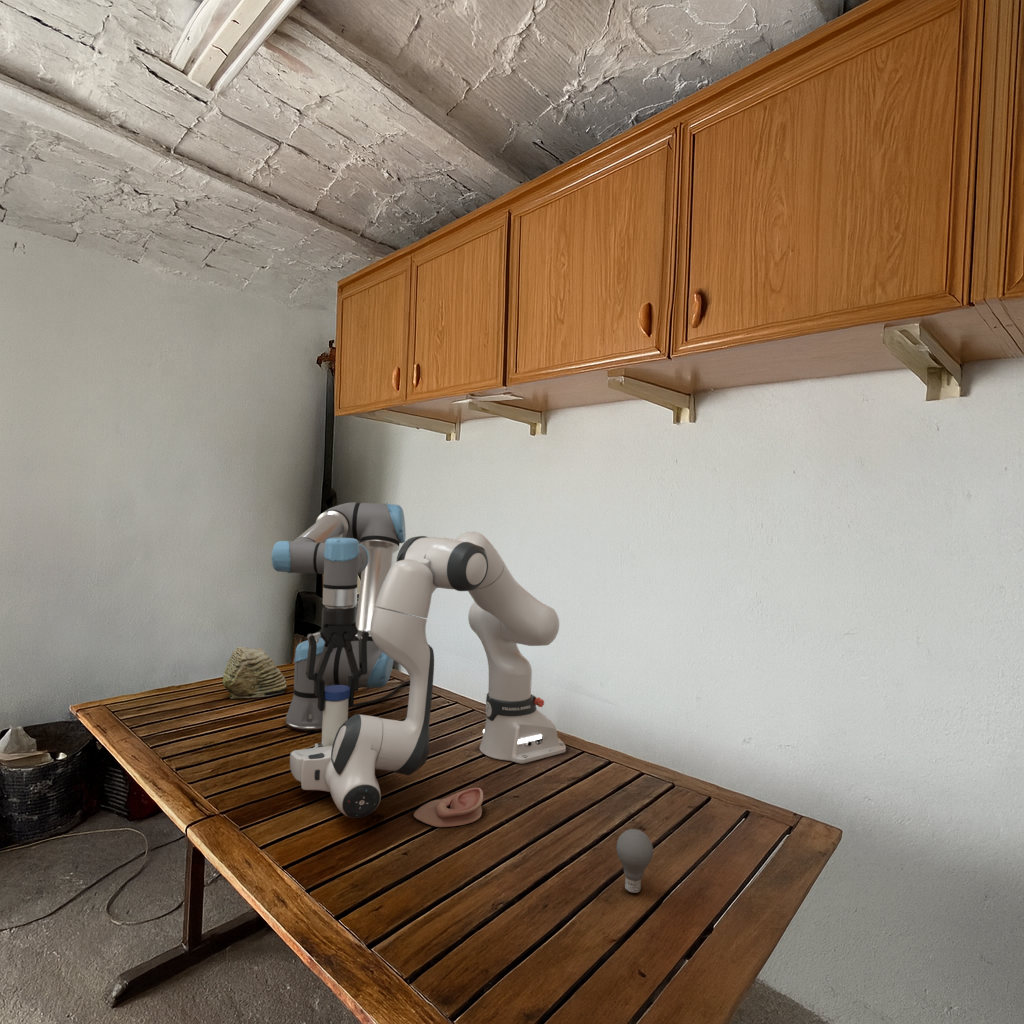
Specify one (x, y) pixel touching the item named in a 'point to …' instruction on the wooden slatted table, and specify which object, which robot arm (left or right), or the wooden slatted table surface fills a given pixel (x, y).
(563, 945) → the wooden slatted table surface
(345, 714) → the bottle
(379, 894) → the wooden slatted table surface
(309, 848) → the wooden slatted table surface
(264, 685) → the fossil
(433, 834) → the wooden slatted table surface
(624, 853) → the light bulb
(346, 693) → the lid
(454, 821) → the anatomical model
